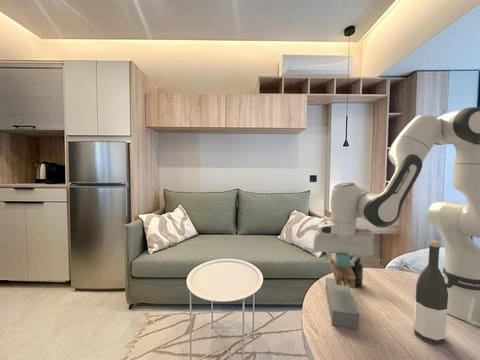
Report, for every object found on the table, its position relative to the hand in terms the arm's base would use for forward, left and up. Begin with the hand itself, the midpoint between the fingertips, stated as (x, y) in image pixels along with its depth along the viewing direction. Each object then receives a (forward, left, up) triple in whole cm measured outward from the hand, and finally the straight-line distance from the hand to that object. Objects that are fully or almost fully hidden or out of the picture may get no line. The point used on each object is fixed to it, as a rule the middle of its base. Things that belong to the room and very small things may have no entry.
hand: (341, 264), depth 92 cm
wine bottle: (-25, +10, -16) cm, 31 cm away
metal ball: (0, -2, 0) cm, 2 cm away
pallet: (0, 0, -3) cm, 3 cm away
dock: (0, 0, -16) cm, 16 cm away
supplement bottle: (-9, -20, -16) cm, 27 cm away
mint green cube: (0, +2, +1) cm, 2 cm away
